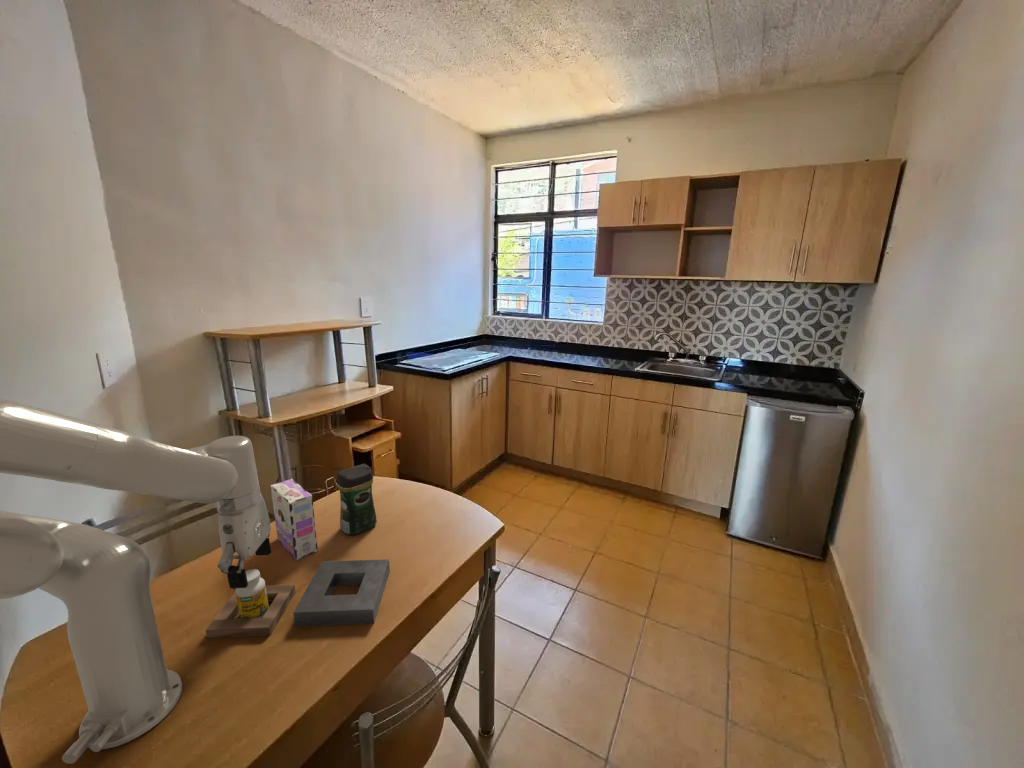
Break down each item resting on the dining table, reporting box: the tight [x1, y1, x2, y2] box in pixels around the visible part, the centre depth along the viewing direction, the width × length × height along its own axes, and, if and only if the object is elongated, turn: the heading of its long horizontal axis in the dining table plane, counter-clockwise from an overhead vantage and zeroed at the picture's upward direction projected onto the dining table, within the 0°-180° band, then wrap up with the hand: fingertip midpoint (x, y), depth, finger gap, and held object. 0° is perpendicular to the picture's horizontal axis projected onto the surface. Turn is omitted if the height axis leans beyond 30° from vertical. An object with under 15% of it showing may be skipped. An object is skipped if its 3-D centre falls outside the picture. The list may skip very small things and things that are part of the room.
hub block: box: [292, 558, 391, 628], centre depth 94 cm, size 16×16×4 cm
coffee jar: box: [336, 463, 378, 536], centre depth 119 cm, size 10×8×19 cm
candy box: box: [270, 478, 319, 561], centre depth 110 cm, size 14×6×16 cm, turn 47°
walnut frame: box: [205, 584, 296, 639], centre depth 89 cm, size 12×12×2 cm
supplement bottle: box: [234, 568, 270, 619], centre depth 88 cm, size 5×5×10 cm
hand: (252, 569), depth 87 cm, fingers open, 9 cm apart
